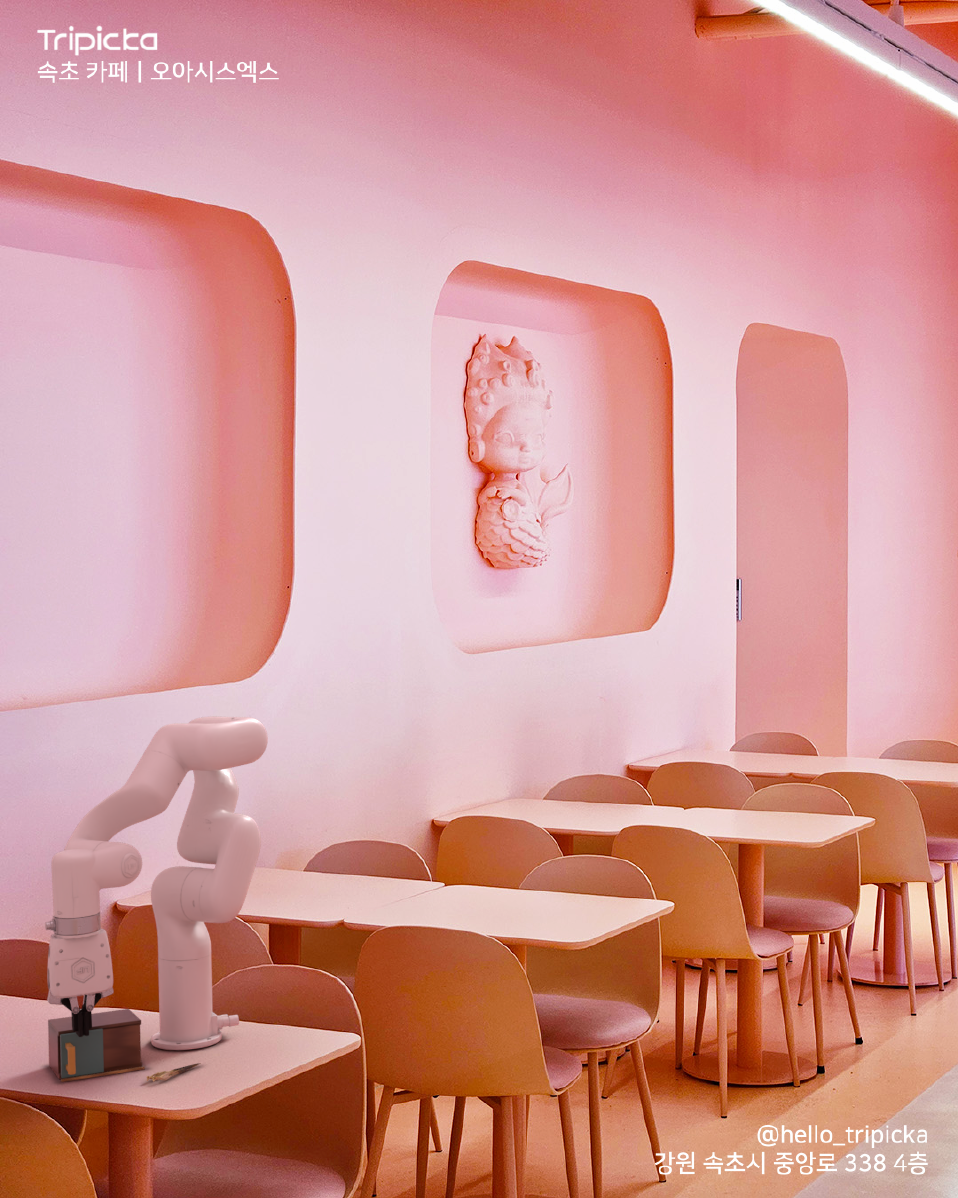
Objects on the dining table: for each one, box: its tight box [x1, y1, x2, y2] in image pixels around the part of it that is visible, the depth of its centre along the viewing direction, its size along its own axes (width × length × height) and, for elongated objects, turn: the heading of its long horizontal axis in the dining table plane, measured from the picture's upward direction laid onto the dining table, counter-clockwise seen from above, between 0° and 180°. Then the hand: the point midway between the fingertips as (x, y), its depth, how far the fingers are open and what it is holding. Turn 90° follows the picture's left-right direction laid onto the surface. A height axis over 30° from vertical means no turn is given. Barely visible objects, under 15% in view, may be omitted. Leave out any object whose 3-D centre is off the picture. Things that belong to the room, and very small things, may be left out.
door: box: [60, 1029, 105, 1079], centre depth 256 cm, size 7×4×7 cm, turn 116°
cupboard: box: [47, 1008, 146, 1083], centre depth 263 cm, size 14×11×8 cm
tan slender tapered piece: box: [145, 1062, 202, 1082], centre depth 257 cm, size 12×3×1 cm, turn 144°
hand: (82, 1034), depth 255 cm, fingers closed
